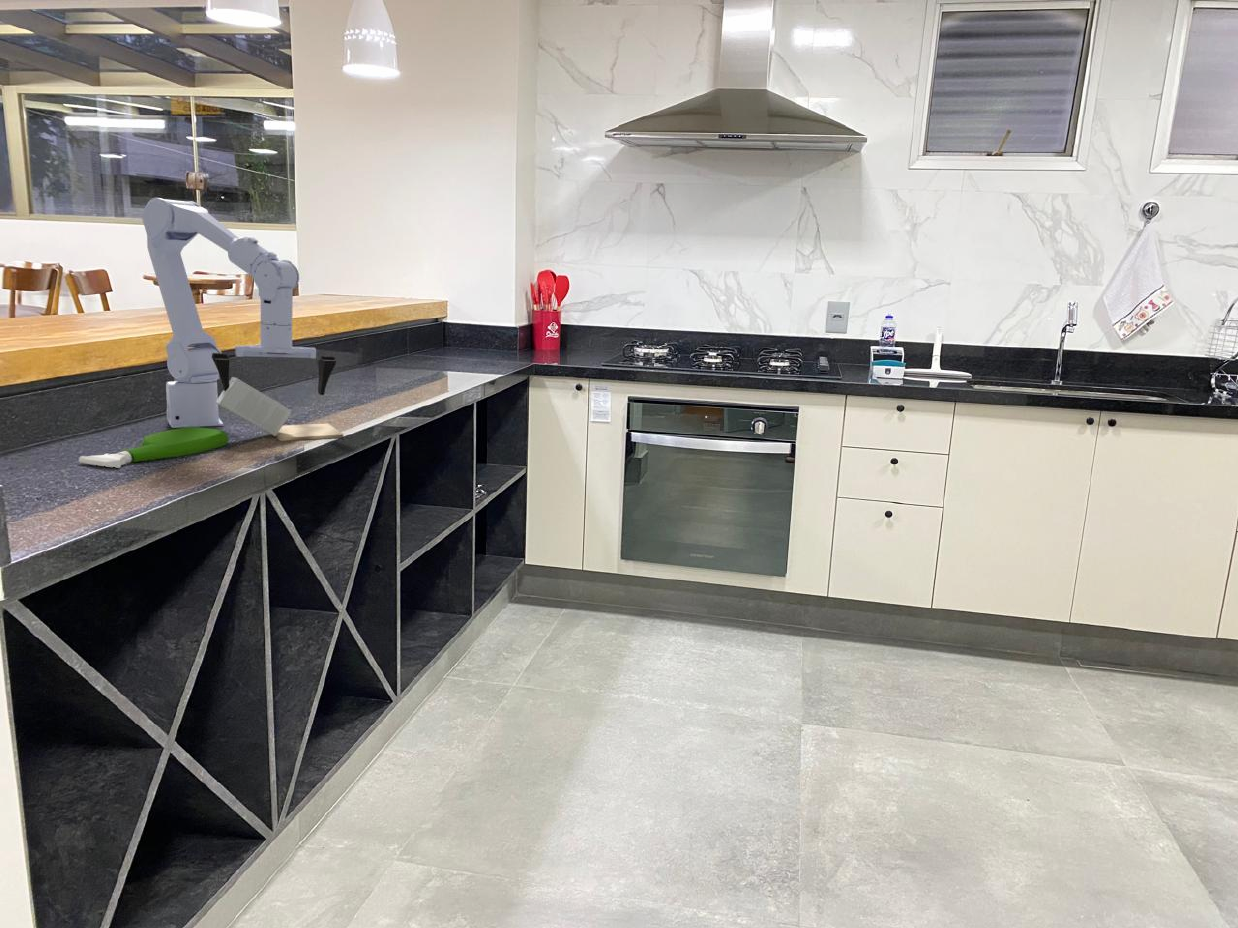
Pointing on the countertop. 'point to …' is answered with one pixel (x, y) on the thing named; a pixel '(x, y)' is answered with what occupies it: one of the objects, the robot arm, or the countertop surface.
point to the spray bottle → (164, 446)
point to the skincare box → (253, 406)
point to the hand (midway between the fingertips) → (276, 394)
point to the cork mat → (307, 432)
